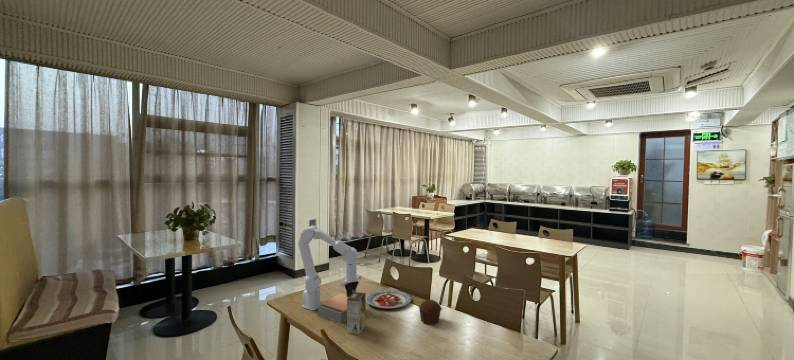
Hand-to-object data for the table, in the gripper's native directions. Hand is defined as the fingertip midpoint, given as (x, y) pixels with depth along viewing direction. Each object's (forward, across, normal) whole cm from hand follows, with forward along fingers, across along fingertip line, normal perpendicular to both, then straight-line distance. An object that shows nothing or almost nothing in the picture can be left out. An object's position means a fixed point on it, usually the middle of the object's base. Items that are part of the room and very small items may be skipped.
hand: (351, 295), depth 181 cm
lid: (+2, -6, 0) cm, 7 cm away
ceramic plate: (+7, +18, -12) cm, 23 cm away
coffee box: (+7, -16, -18) cm, 25 cm away
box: (+7, -9, 0) cm, 11 cm away
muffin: (+7, +10, -43) cm, 45 cm away
